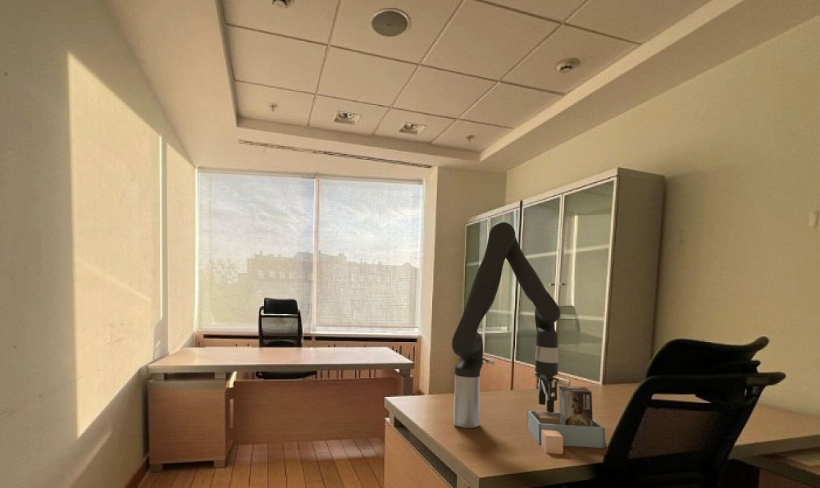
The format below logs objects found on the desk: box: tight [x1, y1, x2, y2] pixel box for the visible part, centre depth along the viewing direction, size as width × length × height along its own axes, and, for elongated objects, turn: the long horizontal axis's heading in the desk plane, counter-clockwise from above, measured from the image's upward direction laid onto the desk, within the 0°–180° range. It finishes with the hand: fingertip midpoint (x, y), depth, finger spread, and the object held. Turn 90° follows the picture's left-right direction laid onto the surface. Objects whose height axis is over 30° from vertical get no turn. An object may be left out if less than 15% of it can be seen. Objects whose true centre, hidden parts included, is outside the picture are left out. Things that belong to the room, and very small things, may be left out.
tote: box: [526, 410, 606, 449], centre depth 126 cm, size 21×15×6 cm
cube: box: [540, 430, 564, 455], centre depth 115 cm, size 5×5×5 cm
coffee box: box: [558, 385, 594, 427], centre depth 127 cm, size 9×6×16 cm
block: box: [536, 412, 559, 425], centre depth 127 cm, size 6×6×6 cm
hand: (545, 408), depth 128 cm, fingers open, 8 cm apart
